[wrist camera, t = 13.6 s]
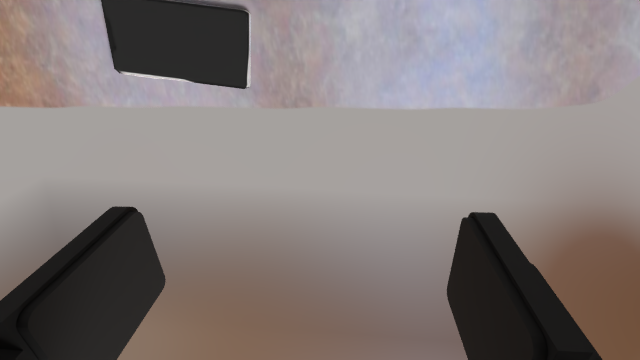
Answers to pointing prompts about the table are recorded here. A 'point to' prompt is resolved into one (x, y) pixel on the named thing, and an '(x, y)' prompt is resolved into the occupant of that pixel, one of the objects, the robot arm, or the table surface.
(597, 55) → the table surface
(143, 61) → the smartphone
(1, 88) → the table surface
